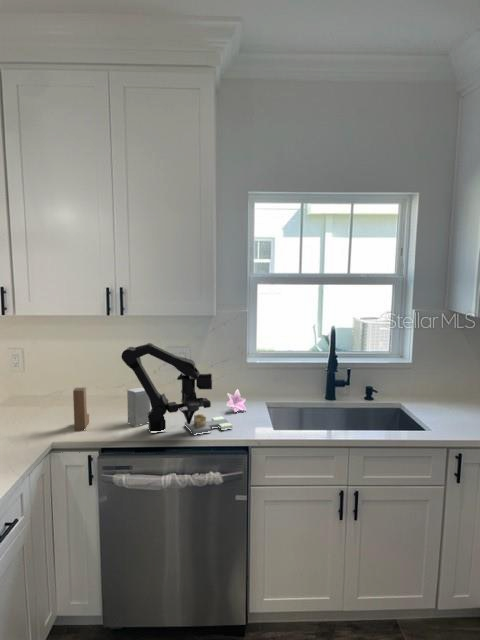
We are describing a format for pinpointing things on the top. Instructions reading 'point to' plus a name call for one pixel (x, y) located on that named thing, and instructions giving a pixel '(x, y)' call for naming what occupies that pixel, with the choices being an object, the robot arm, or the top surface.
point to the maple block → (200, 420)
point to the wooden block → (80, 409)
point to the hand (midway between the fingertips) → (188, 424)
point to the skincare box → (138, 406)
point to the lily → (236, 401)
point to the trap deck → (209, 425)
